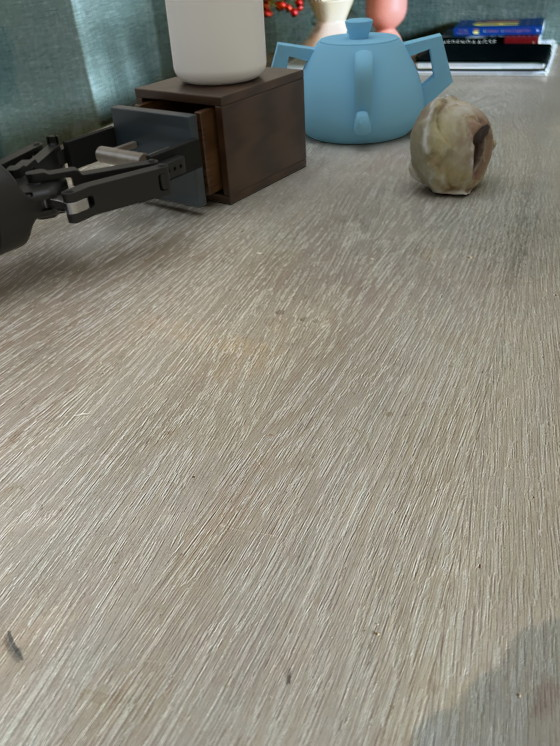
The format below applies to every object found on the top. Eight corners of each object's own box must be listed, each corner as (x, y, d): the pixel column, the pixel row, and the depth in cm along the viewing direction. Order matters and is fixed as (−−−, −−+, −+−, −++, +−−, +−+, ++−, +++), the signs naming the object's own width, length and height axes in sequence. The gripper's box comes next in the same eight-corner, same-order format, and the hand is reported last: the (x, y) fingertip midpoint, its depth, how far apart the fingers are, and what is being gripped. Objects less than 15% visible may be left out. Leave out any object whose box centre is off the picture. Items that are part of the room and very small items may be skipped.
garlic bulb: (421, 219, 71) (398, 134, 65) (412, 180, 77) (389, 100, 71) (512, 191, 69) (497, 100, 62) (495, 153, 75) (479, 66, 68)
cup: (182, 72, 77) (170, -29, 72) (269, 67, 77) (263, -35, 71) (168, 90, 69) (152, -23, 63) (265, 85, 68) (258, -29, 63)
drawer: (165, 224, 65) (151, 129, 60) (91, 207, 70) (71, 118, 65) (276, 170, 77) (271, 87, 72) (205, 158, 82) (196, 81, 77)
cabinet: (230, 204, 71) (220, 97, 65) (150, 188, 77) (133, 88, 71) (306, 166, 81) (303, 69, 75) (230, 154, 87) (221, 63, 81)
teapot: (453, 126, 92) (462, 12, 84) (357, 159, 82) (358, 33, 74) (351, 107, 105) (351, 7, 97) (257, 134, 95) (249, 25, 87)
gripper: (-99, 235, 61) (85, 167, 76) (70, 292, 49) (249, 199, 64) (-132, 152, 57) (70, 97, 71) (45, 193, 45) (243, 117, 60)
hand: (155, 145), depth 68 cm, fingers closed on drawer, 11 cm apart
